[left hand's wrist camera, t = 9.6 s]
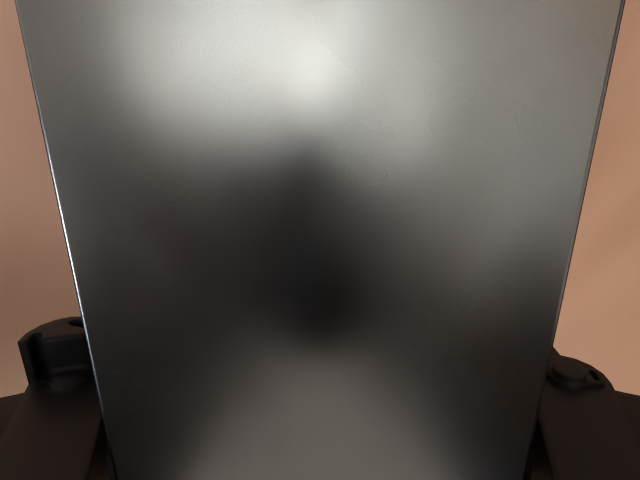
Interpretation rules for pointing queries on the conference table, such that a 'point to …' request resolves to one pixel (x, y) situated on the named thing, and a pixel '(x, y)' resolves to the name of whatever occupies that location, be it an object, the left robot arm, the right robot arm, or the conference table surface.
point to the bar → (320, 224)
